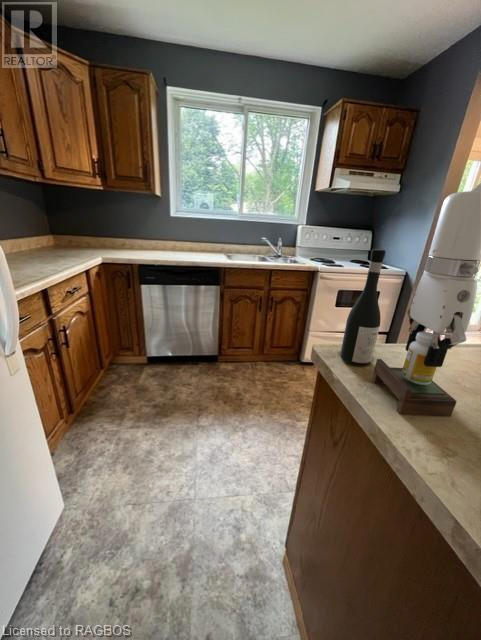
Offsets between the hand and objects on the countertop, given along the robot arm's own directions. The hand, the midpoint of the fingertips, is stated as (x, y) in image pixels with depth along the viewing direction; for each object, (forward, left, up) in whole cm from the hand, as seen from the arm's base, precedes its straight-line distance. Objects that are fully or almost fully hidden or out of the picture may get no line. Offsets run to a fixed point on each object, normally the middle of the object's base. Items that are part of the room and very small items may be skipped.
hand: (422, 357), depth 55 cm
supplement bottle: (0, 0, -5) cm, 5 cm away
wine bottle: (+5, -18, -11) cm, 22 cm away
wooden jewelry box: (+1, 0, -11) cm, 11 cm away
